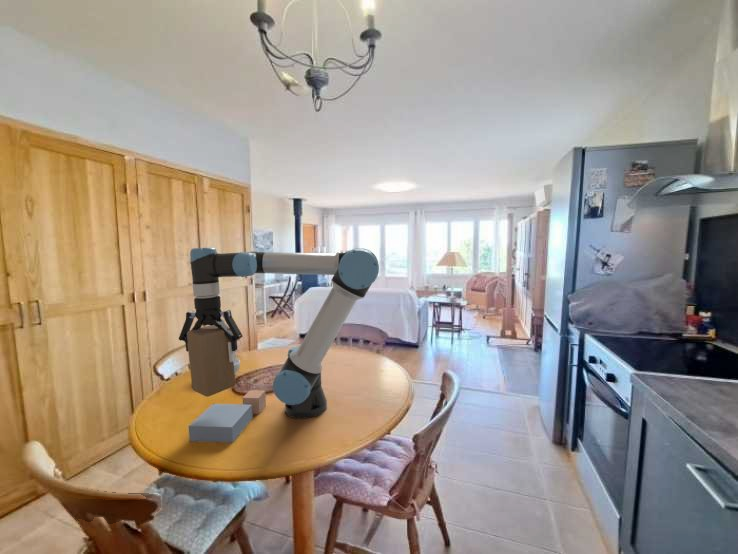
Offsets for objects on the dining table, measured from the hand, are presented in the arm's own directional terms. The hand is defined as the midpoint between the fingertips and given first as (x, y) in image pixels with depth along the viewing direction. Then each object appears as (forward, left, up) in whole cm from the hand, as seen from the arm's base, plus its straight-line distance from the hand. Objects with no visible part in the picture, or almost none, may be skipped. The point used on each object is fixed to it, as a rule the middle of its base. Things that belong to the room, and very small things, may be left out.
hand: (212, 360), depth 105 cm
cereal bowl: (+21, -41, -23) cm, 51 cm away
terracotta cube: (-8, -13, -23) cm, 27 cm away
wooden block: (0, 0, -9) cm, 9 cm away
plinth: (-2, 0, -23) cm, 23 cm away
